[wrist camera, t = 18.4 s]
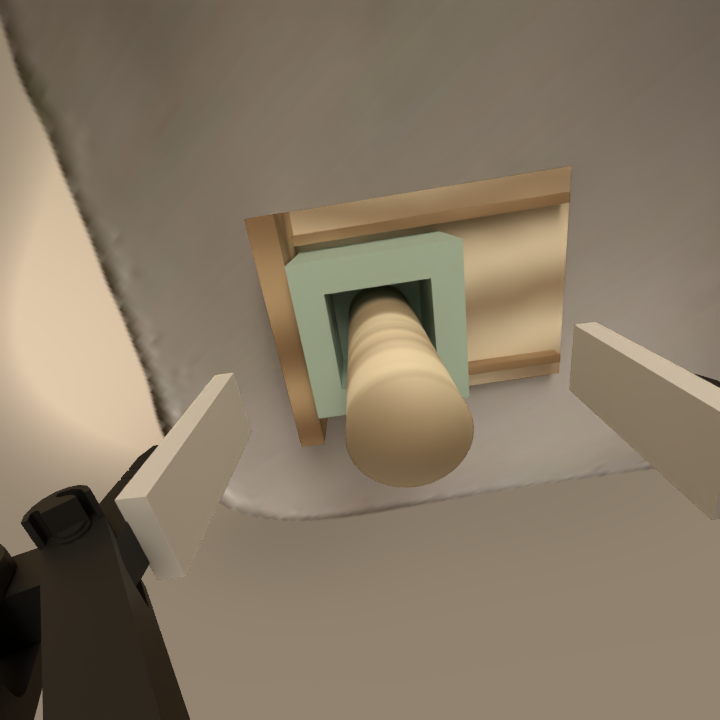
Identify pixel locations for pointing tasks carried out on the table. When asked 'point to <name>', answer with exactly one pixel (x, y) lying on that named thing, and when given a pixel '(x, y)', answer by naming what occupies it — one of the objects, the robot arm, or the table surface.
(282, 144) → the table surface
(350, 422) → the dowel
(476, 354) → the rail board
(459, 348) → the pale green hollow block
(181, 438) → the robot arm
